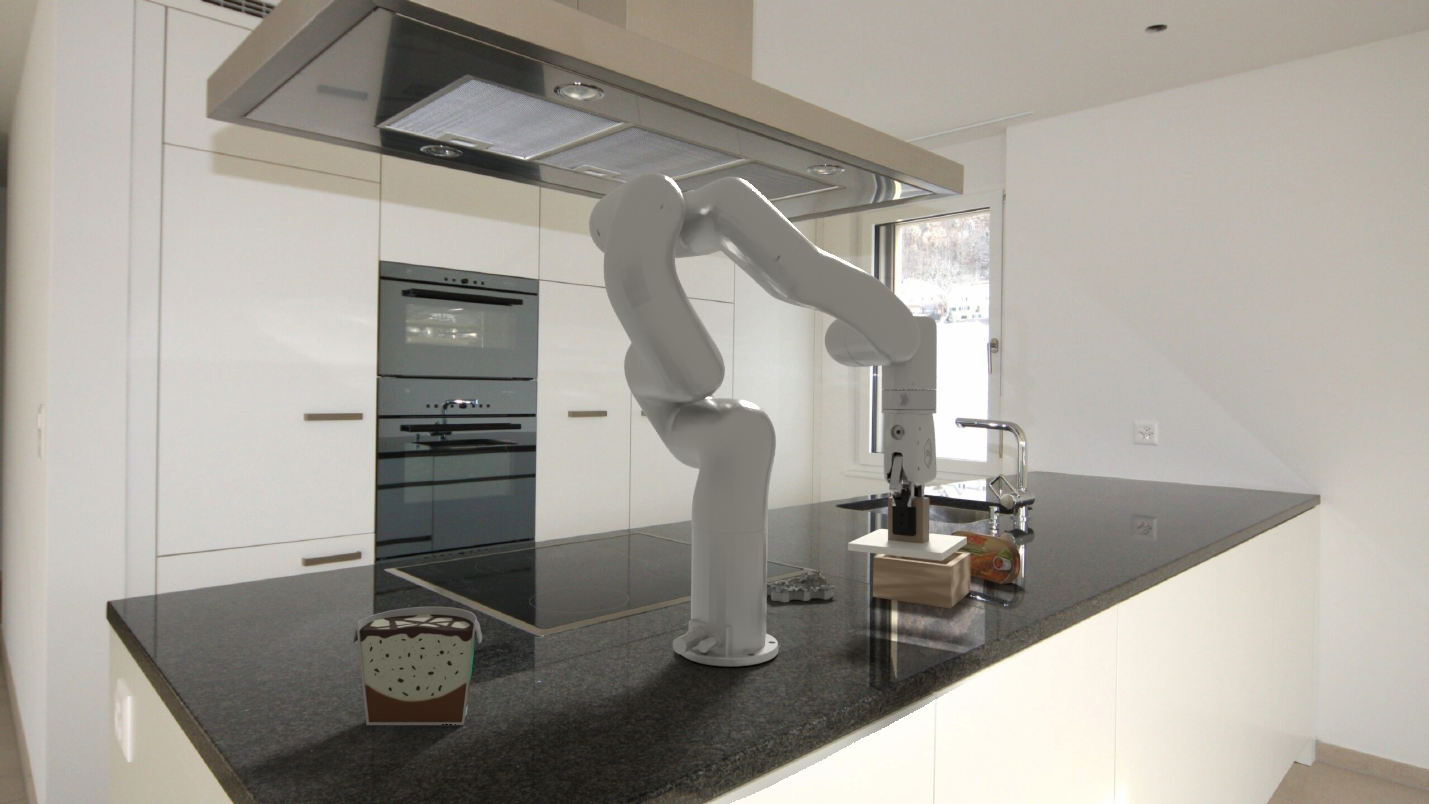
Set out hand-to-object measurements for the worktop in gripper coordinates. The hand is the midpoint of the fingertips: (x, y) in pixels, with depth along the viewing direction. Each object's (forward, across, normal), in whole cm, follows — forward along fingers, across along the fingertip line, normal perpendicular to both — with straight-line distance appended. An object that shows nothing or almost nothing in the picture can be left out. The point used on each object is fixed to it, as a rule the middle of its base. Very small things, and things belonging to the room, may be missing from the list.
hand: (908, 531), depth 113 cm
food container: (+12, -58, +31) cm, 67 cm away
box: (+13, +14, +2) cm, 20 cm away
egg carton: (+13, +3, +18) cm, 23 cm away
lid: (+2, 0, 0) cm, 2 cm away
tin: (+14, +32, -3) cm, 35 cm away
